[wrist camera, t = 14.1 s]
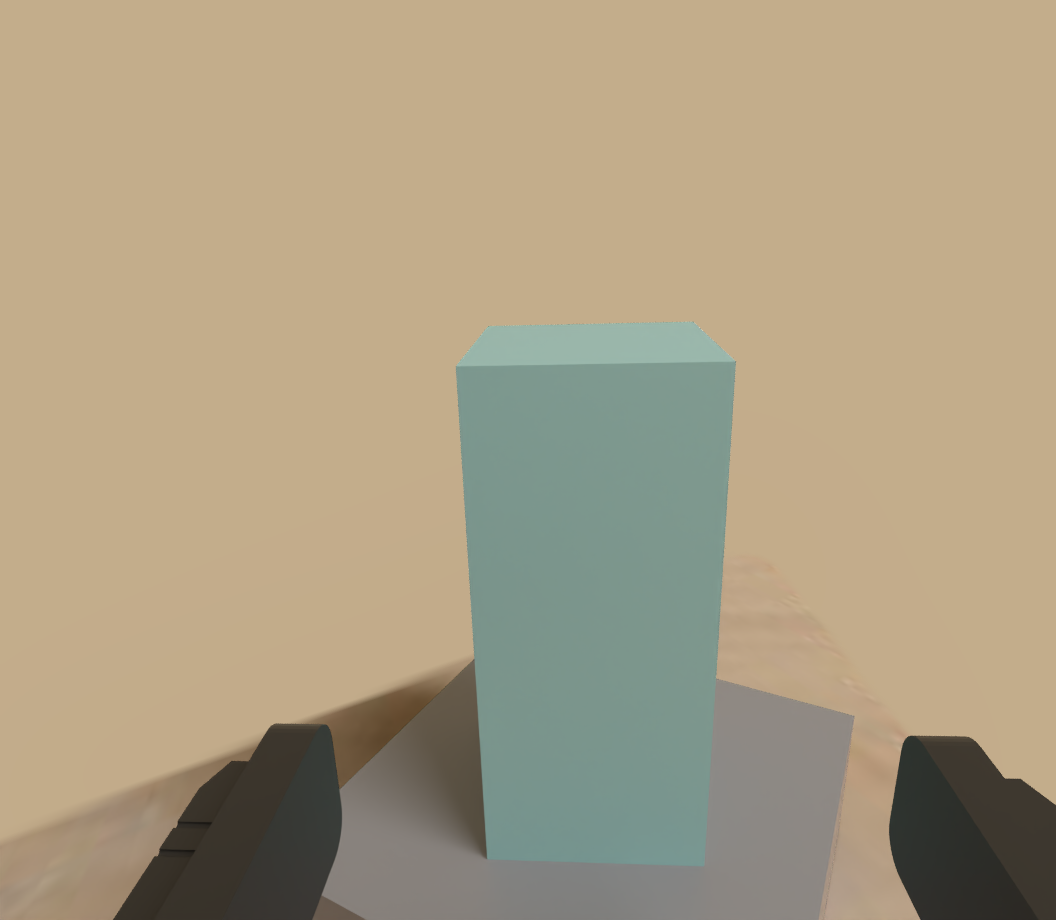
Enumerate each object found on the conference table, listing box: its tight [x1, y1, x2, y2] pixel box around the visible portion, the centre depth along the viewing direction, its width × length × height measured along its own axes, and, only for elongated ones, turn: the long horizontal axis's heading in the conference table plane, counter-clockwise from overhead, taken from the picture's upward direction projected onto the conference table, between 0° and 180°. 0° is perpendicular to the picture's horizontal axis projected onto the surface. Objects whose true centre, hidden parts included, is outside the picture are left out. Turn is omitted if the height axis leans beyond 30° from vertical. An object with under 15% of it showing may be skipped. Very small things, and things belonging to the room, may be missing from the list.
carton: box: [456, 322, 736, 866], centre depth 21 cm, size 6×6×14 cm
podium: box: [312, 659, 854, 920], centre depth 24 cm, size 14×14×5 cm
